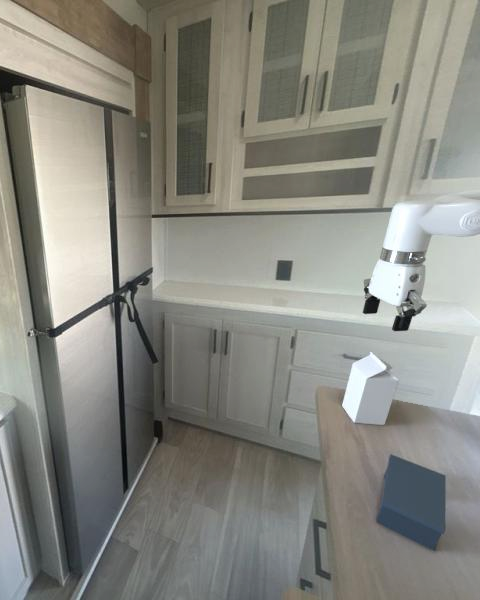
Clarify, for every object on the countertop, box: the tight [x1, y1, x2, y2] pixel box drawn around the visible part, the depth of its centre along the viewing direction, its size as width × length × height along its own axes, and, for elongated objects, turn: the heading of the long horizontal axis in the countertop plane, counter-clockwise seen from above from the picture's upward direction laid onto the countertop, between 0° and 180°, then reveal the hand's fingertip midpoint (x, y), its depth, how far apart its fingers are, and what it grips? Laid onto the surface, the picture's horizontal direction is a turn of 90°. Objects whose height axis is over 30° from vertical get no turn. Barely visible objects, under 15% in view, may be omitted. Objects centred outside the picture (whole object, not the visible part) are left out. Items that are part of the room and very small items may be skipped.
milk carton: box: [341, 351, 400, 426], centre depth 90 cm, size 7×7×19 cm
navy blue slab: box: [376, 453, 447, 551], centre depth 68 cm, size 15×9×6 cm, turn 135°
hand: (383, 321), depth 83 cm, fingers open, 9 cm apart
